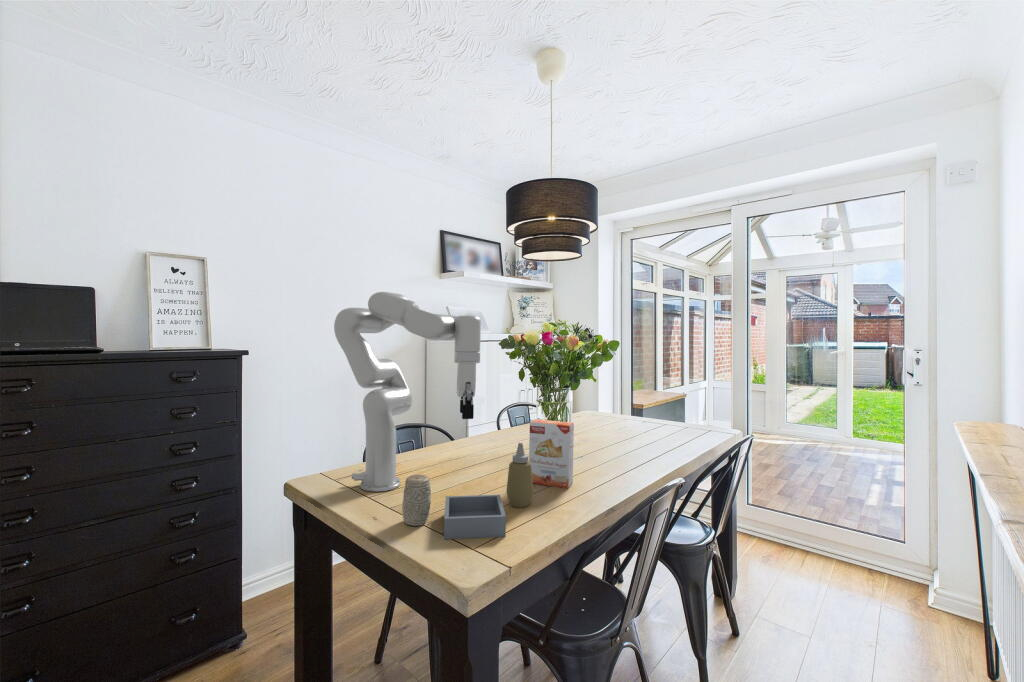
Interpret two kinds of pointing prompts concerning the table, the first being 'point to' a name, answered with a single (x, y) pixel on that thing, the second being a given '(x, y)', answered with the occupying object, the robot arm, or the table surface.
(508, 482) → the squeeze bottle
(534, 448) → the cracker box
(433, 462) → the table surface
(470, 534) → the bin
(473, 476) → the table surface
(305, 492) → the table surface
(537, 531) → the table surface
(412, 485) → the carving
